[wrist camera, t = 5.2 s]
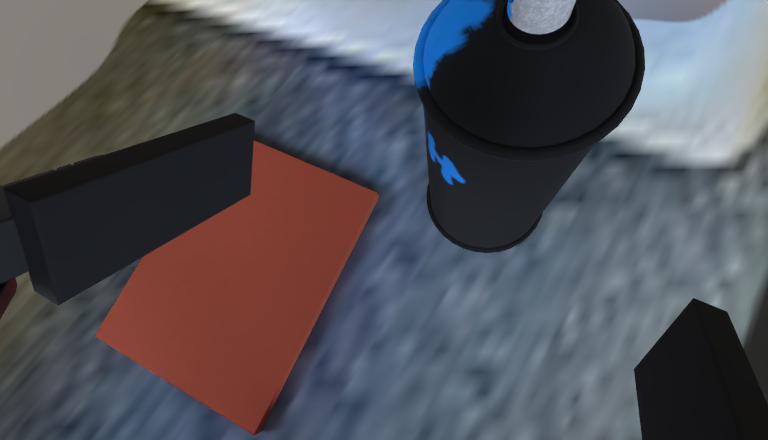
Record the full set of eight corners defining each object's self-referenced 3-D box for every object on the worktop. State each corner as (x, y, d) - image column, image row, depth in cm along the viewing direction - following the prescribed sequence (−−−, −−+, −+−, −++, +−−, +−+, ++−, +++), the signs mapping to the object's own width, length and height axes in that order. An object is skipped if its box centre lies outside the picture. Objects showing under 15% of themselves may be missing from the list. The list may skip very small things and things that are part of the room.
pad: (379, 196, 32) (377, 192, 31) (260, 432, 28) (254, 435, 27) (228, 132, 35) (222, 126, 34) (104, 336, 31) (94, 336, 30)
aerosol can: (550, 154, 31) (725, -151, 12) (535, 264, 29) (717, 108, 10) (438, 138, 32) (433, -156, 13) (416, 241, 30) (374, 68, 11)
